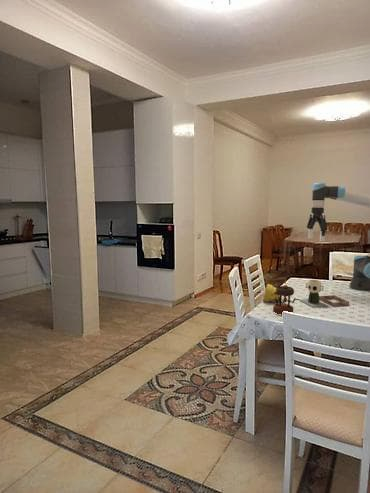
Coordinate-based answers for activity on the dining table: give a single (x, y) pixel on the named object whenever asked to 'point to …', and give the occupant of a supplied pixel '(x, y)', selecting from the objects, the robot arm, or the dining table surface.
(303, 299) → the slate coaster
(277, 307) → the music box
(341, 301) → the brown rectangular slab
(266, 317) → the dining table surface
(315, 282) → the character mug
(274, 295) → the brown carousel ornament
